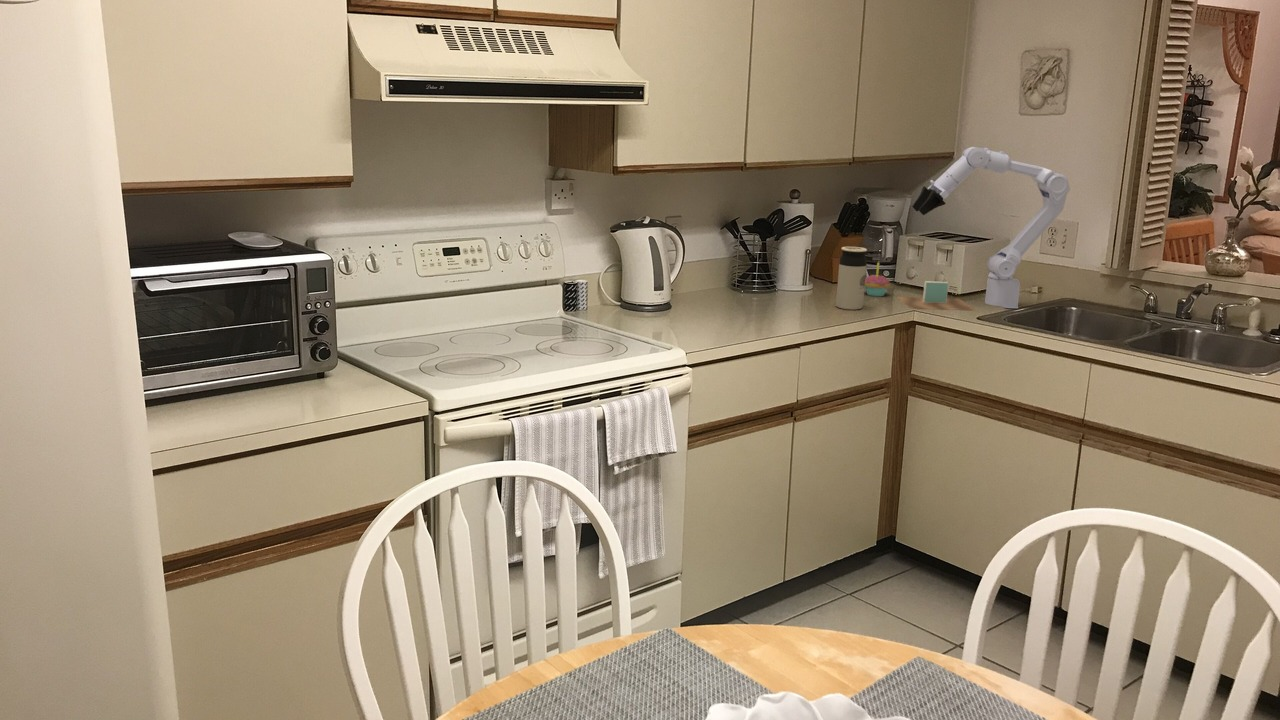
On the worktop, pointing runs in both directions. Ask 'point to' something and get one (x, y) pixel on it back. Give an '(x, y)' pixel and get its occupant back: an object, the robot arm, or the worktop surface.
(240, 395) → the worktop surface
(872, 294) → the cupcake
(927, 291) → the tile
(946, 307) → the board
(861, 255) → the travel mug
